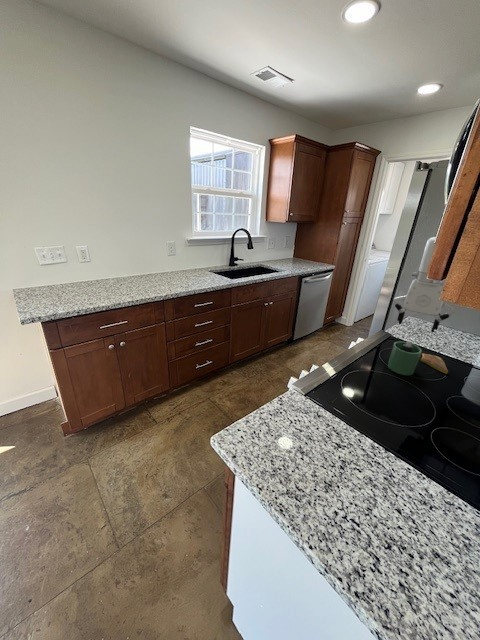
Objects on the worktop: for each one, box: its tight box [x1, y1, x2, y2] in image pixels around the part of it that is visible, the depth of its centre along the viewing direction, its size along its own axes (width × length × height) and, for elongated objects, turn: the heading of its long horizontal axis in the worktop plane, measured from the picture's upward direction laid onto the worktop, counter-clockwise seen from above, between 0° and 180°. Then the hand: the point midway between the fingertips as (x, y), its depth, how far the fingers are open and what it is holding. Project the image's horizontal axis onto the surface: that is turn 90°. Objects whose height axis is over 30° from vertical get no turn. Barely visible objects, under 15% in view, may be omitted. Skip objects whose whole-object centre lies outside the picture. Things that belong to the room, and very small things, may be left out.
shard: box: [420, 352, 449, 375], centre depth 100 cm, size 11×8×2 cm
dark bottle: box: [402, 339, 413, 353], centre depth 95 cm, size 3×3×11 cm
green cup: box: [387, 341, 422, 376], centre depth 96 cm, size 9×9×9 cm
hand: (415, 326), depth 91 cm, fingers open, 9 cm apart
